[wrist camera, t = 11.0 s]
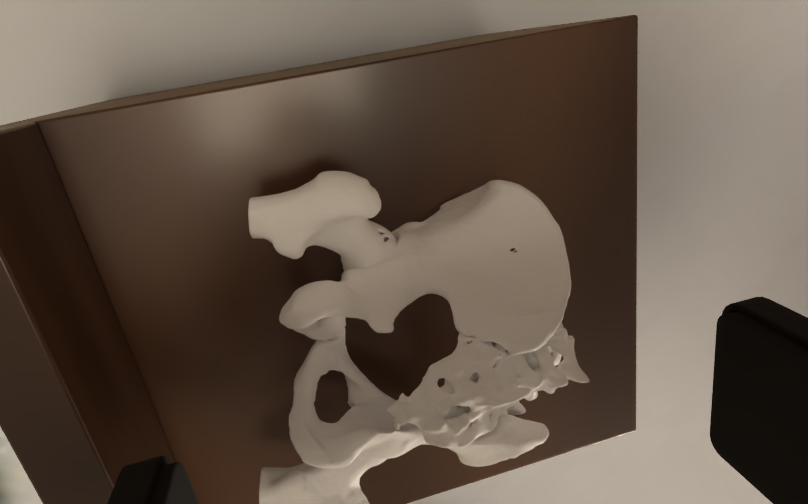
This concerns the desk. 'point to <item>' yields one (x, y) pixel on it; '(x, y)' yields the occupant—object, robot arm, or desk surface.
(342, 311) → the pelvis model
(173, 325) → the shelf
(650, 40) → the desk surface
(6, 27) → the desk surface
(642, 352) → the desk surface
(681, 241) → the desk surface
